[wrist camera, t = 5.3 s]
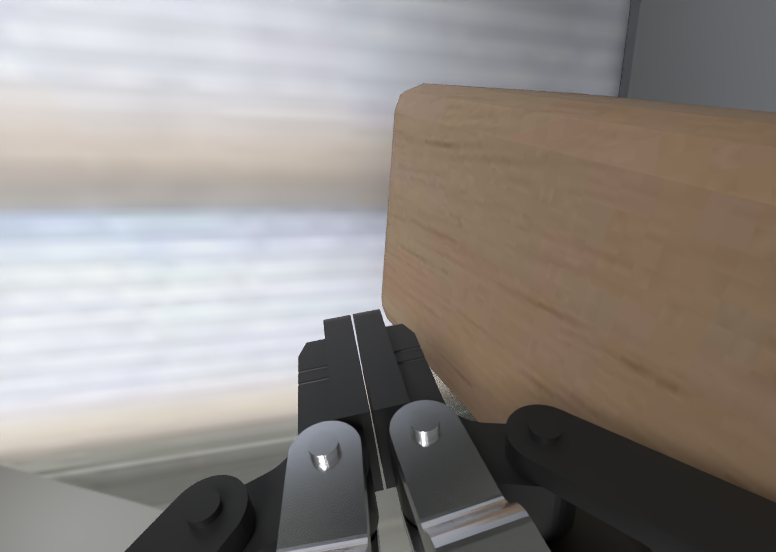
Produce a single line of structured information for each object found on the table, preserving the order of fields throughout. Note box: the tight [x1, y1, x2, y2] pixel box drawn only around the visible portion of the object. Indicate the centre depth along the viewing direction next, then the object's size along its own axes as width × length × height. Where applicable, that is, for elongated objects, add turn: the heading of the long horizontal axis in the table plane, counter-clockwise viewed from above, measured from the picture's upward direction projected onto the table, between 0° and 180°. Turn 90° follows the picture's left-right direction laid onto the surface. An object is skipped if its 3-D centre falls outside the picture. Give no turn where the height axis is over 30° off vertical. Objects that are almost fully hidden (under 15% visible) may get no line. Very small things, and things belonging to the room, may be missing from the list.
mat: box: [619, 0, 776, 112], centre depth 22 cm, size 24×16×1 cm, turn 7°
